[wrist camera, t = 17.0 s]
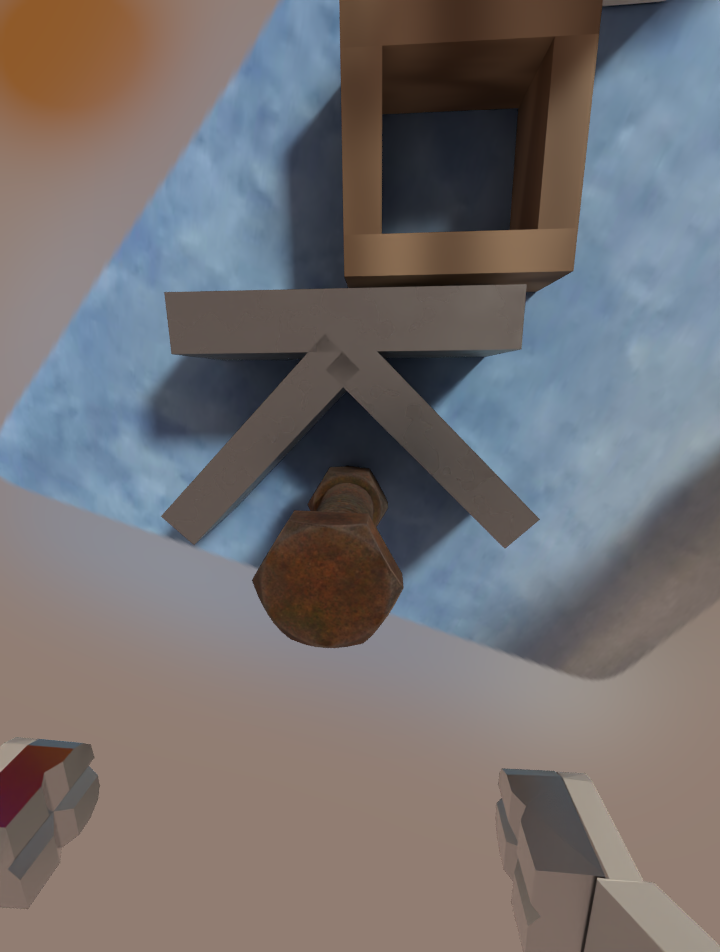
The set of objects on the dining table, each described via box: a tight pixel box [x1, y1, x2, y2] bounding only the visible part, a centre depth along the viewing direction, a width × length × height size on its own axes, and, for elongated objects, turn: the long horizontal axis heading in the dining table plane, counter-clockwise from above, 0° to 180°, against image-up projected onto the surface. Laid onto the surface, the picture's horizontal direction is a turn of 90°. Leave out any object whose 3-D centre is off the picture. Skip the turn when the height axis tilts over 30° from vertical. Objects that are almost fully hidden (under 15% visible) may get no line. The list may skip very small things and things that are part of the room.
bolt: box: [252, 466, 403, 648], centre depth 22 cm, size 6×5×15 cm
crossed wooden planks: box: [161, 284, 540, 548], centre depth 25 cm, size 22×14×7 cm, turn 90°
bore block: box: [339, 0, 603, 292], centre depth 22 cm, size 12×12×5 cm
